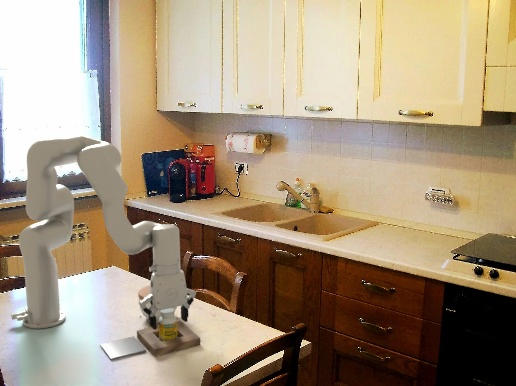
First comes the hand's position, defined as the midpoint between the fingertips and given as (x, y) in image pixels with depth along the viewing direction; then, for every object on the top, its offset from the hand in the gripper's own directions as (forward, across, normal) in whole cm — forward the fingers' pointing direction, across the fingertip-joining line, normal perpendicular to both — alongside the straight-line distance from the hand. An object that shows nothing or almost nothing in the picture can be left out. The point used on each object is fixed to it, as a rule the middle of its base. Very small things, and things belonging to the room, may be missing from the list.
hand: (169, 324), depth 165 cm
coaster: (+5, -13, +2) cm, 15 cm away
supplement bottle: (+6, 0, 0) cm, 6 cm away
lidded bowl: (+6, +4, +17) cm, 19 cm away
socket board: (+5, 0, 0) cm, 5 cm away
